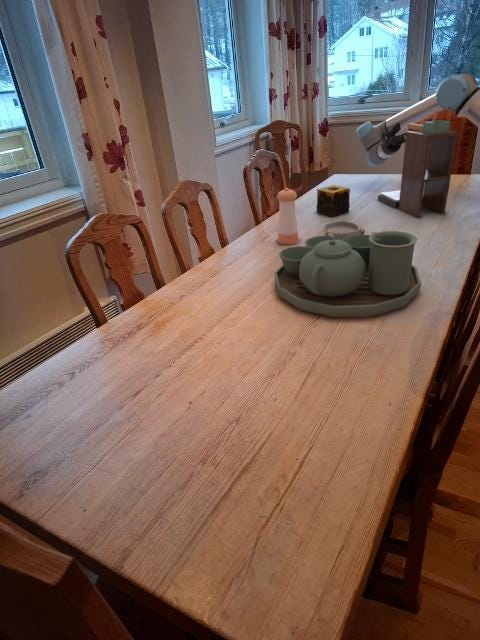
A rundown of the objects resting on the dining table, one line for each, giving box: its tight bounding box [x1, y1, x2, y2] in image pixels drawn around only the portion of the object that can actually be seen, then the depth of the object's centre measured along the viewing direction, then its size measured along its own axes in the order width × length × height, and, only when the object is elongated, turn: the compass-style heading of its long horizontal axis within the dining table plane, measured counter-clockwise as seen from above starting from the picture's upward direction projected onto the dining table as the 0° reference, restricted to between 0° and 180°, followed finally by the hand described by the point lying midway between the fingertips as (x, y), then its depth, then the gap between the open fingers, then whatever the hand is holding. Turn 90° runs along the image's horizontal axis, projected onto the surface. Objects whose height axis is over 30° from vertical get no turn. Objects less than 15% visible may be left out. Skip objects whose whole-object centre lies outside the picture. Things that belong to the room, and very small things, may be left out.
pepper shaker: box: [276, 187, 299, 245], centre depth 153 cm, size 7×7×19 cm
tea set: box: [274, 230, 422, 318], centre depth 119 cm, size 40×40×16 cm
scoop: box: [406, 119, 451, 134], centre depth 163 cm, size 21×6×4 cm, turn 13°
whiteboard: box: [377, 189, 423, 209], centre depth 187 cm, size 15×14×3 cm
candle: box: [316, 184, 351, 218], centre depth 181 cm, size 10×10×10 cm
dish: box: [322, 220, 366, 241], centre depth 153 cm, size 14×14×5 cm
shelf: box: [398, 129, 459, 218], centre depth 168 cm, size 14×12×30 cm
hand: (415, 124), depth 168 cm, fingers open, 13 cm apart
